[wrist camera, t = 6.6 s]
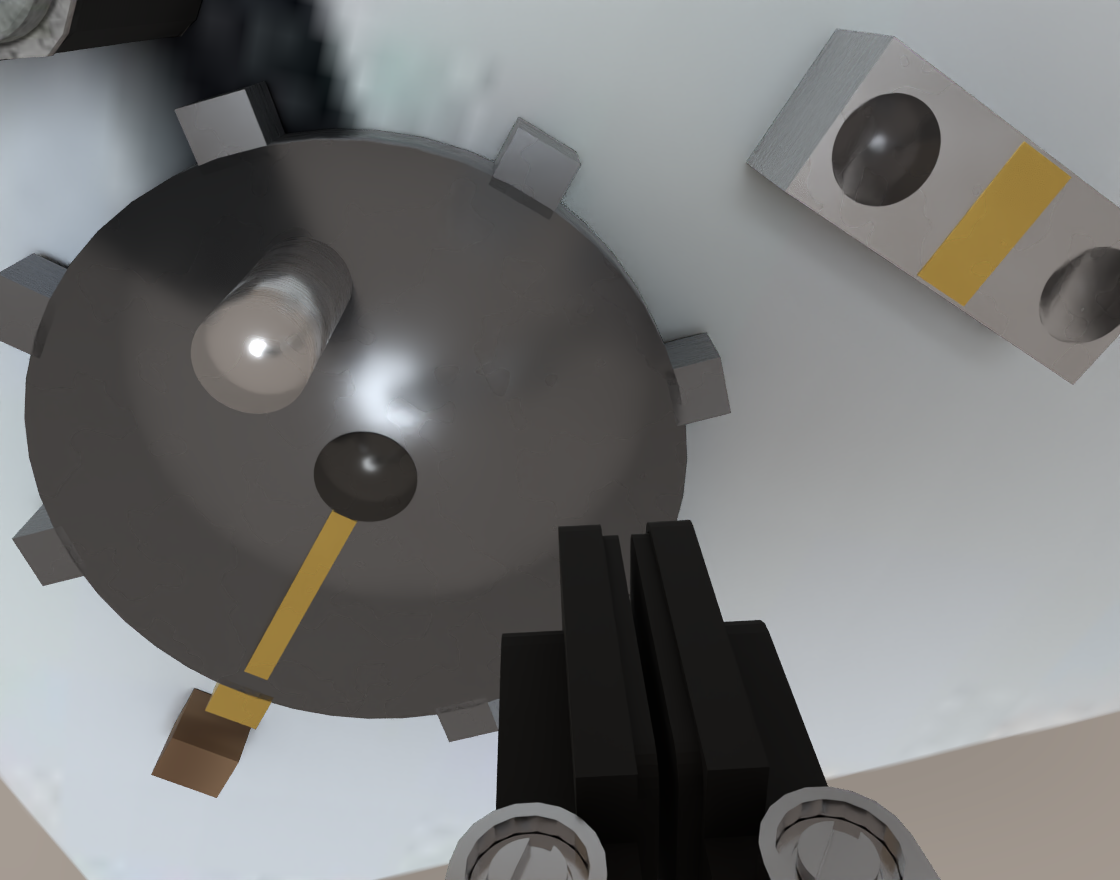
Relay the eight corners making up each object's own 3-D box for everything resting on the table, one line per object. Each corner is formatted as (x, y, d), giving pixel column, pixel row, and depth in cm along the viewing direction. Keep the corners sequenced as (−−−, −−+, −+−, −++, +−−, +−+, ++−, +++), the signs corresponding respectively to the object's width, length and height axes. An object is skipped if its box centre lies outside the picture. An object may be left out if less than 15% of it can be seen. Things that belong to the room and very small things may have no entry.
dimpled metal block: (1096, 223, 26) (1189, 261, 23) (1001, 333, 28) (1074, 385, 24) (836, 29, 24) (895, 36, 20) (746, 162, 25) (785, 192, 21)
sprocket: (680, 3, 23) (751, 10, 16) (742, 654, 33) (802, 829, 26) (-135, 156, 23) (-396, 225, 17) (167, 747, 33) (79, 941, 27)
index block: (256, 712, 33) (238, 762, 31) (235, 747, 34) (216, 798, 32) (194, 688, 33) (172, 737, 30) (174, 724, 33) (151, 774, 31)
